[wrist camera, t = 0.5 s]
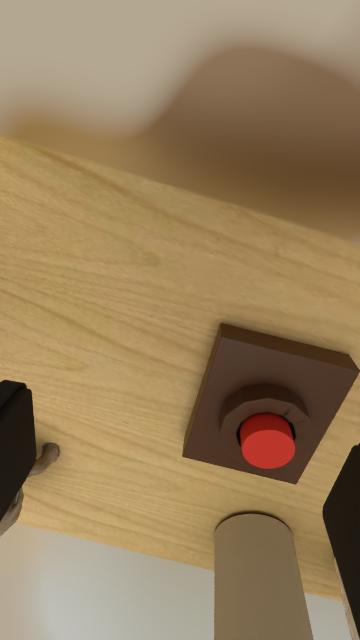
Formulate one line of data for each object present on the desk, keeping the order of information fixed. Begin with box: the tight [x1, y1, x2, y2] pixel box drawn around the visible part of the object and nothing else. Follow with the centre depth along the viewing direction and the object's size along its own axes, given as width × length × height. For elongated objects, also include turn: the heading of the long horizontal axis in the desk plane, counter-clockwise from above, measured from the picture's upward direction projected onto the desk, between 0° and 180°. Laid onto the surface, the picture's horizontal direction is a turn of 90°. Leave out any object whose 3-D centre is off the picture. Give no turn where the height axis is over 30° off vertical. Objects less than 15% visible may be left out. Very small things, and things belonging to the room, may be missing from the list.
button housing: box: [182, 323, 360, 484], centre depth 26 cm, size 12×10×4 cm
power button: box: [240, 413, 295, 469], centre depth 24 cm, size 4×4×2 cm
